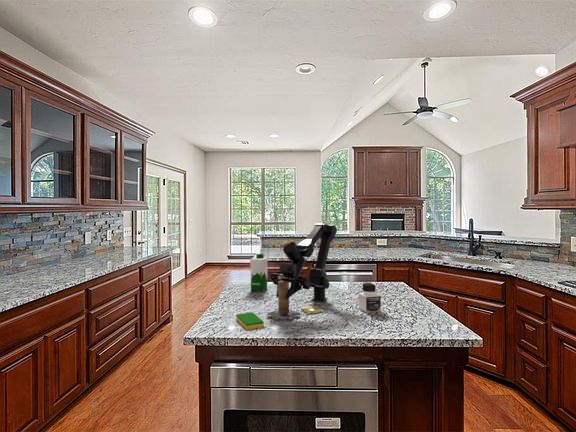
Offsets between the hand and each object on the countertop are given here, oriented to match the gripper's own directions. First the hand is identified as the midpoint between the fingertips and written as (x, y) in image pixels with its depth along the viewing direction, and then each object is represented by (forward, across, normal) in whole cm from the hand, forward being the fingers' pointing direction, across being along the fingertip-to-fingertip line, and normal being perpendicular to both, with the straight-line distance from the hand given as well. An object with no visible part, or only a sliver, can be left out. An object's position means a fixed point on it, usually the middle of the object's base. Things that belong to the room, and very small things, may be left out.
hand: (281, 297), depth 140 cm
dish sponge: (+15, -6, -3) cm, 17 cm away
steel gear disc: (+5, 0, +7) cm, 8 cm away
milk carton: (-16, -38, +28) cm, 50 cm away
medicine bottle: (-15, +27, +26) cm, 41 cm away
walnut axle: (+4, 0, +6) cm, 7 cm away
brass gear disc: (-4, +7, +15) cm, 17 cm away
